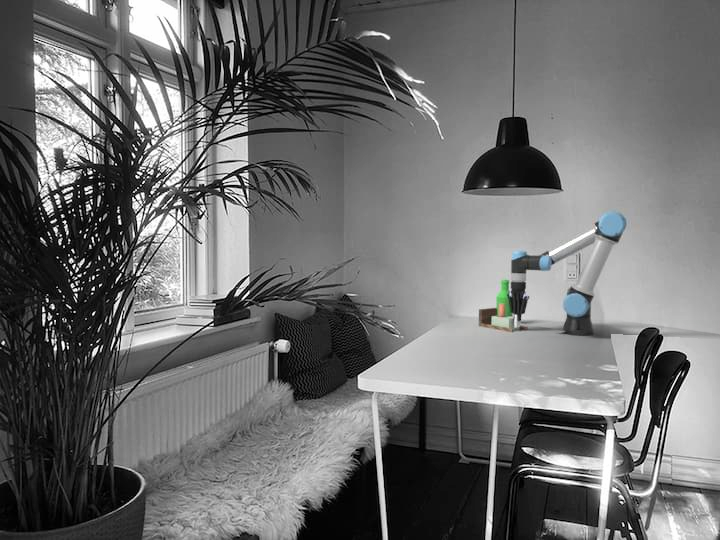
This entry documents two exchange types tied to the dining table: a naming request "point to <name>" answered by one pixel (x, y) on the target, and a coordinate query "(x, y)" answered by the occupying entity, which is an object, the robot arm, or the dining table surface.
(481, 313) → the channel board
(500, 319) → the socket block
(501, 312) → the dowel
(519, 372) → the dining table surface
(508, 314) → the bottle
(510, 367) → the dining table surface
